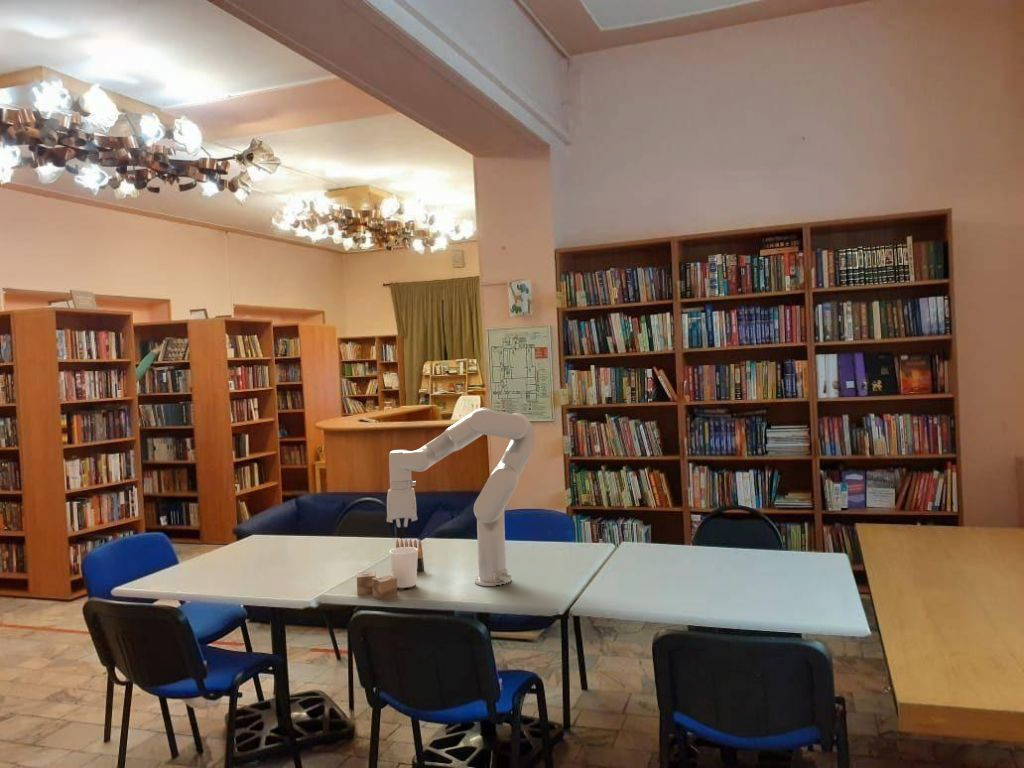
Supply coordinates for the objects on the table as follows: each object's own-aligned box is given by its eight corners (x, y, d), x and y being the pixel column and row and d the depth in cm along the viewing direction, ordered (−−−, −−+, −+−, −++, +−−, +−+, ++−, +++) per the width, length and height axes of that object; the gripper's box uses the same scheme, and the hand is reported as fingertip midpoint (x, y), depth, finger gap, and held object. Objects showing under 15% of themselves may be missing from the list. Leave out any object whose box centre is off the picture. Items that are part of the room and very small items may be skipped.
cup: (424, 583, 259) (422, 547, 259) (412, 591, 249) (411, 554, 249) (397, 582, 261) (396, 546, 261) (385, 590, 252) (384, 553, 252)
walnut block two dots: (397, 596, 246) (396, 577, 245) (381, 600, 242) (380, 581, 242) (388, 592, 250) (387, 574, 250) (372, 596, 247) (371, 577, 246)
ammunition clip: (395, 571, 276) (394, 539, 276) (397, 570, 278) (395, 538, 278) (422, 572, 274) (421, 539, 274) (424, 570, 276) (422, 538, 276)
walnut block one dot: (376, 588, 255) (375, 570, 255) (375, 593, 249) (374, 575, 249) (358, 590, 254) (357, 572, 254) (357, 595, 248) (356, 576, 248)
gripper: (422, 482, 264) (423, 534, 264) (379, 485, 262) (381, 536, 262) (422, 485, 256) (424, 538, 257) (378, 488, 254) (380, 541, 254)
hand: (402, 537), depth 259 cm, fingers closed
